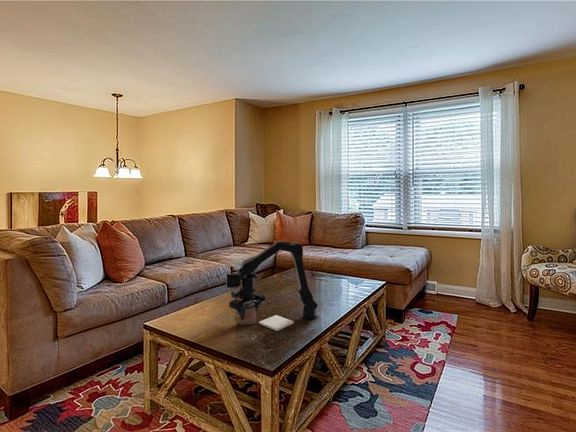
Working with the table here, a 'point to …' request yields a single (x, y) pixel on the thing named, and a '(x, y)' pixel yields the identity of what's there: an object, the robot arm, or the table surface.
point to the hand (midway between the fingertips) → (247, 317)
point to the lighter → (248, 314)
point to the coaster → (276, 322)
